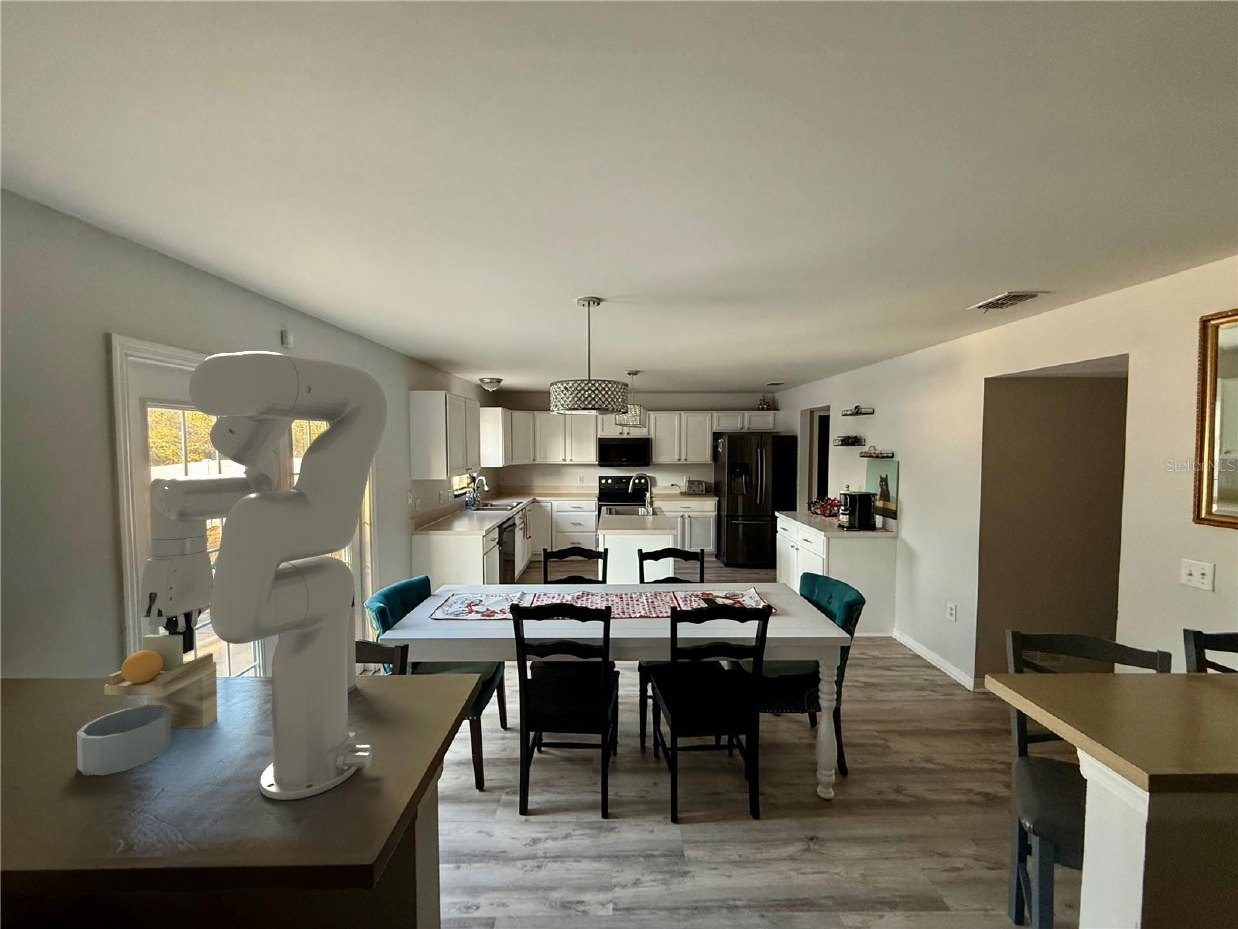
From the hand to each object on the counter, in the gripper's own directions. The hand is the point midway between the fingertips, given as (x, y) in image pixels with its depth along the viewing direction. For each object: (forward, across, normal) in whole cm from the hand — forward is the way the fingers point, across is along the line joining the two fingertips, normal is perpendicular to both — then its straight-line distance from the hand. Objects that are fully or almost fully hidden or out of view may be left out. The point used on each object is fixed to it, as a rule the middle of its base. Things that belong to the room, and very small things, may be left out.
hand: (181, 651), depth 91 cm
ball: (0, +7, 0) cm, 7 cm away
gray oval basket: (+12, +10, 0) cm, 16 cm away
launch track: (+12, +4, 0) cm, 13 cm away
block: (+2, +3, 0) cm, 4 cm away
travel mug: (+13, -14, +20) cm, 27 cm away
